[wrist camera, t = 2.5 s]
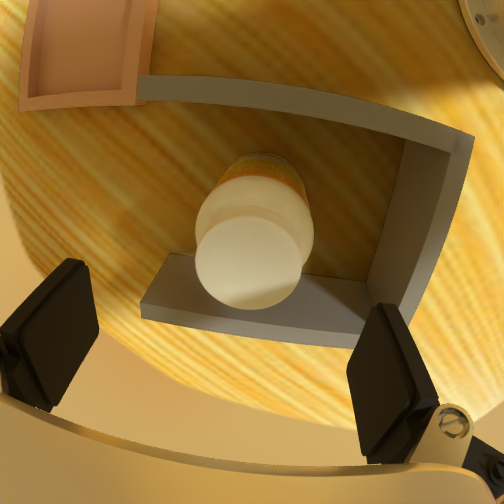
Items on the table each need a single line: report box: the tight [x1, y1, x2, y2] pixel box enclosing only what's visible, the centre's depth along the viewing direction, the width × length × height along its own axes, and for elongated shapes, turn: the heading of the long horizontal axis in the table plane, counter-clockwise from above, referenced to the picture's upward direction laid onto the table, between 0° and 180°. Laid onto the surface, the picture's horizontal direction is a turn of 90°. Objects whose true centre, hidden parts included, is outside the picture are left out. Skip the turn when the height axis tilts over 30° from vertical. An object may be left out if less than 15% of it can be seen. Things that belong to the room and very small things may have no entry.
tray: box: [18, 0, 159, 113], centre depth 14 cm, size 12×10×2 cm
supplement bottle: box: [195, 153, 314, 310], centre depth 16 cm, size 5×5×10 cm
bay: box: [137, 75, 475, 349], centre depth 18 cm, size 13×16×6 cm
